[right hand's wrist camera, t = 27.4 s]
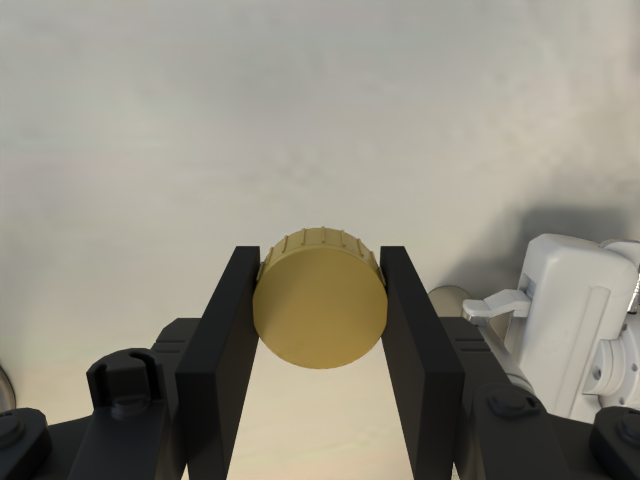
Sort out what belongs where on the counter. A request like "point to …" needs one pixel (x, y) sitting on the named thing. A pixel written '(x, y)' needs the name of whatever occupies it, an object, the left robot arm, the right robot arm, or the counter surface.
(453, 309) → the bottle
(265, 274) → the cap
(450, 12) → the counter surface
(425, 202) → the counter surface
